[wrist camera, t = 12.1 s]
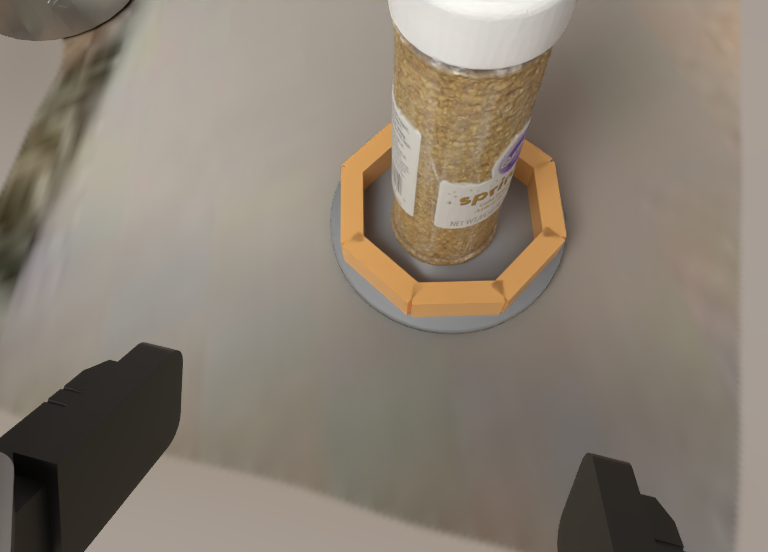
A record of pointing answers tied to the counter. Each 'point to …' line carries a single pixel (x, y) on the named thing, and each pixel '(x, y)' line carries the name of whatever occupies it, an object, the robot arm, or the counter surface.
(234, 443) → the counter surface
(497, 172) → the spice jar
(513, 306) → the orange rimmed grey dish
